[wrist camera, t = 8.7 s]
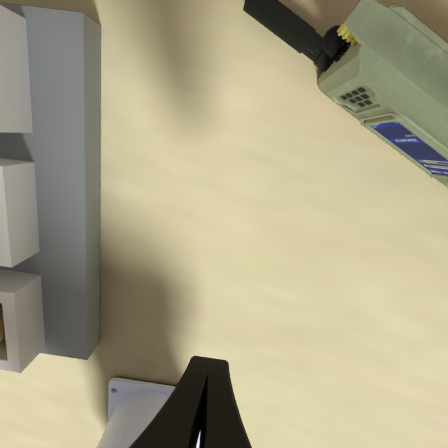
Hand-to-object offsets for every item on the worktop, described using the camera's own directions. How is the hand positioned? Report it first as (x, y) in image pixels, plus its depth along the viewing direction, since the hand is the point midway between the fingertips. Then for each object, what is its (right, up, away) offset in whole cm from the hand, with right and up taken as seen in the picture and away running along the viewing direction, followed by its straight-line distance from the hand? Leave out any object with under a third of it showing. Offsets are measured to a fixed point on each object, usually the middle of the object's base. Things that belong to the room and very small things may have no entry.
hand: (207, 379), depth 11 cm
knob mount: (-14, +8, +9) cm, 18 cm away
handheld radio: (+12, +11, +7) cm, 18 cm away
